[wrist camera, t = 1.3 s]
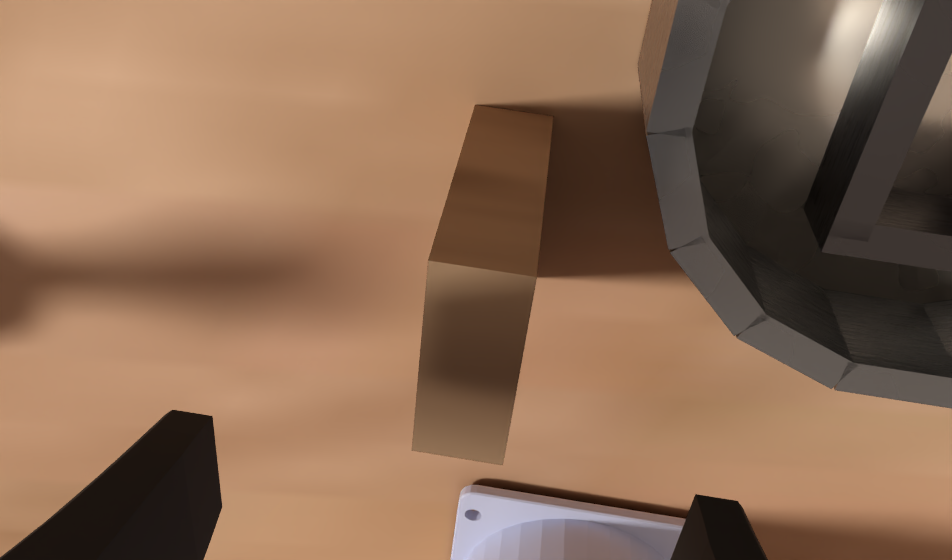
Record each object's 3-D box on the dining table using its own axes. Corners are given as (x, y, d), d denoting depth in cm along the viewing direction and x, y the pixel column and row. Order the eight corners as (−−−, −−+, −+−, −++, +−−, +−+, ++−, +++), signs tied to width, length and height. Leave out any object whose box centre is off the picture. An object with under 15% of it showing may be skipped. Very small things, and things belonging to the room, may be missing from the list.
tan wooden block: (526, 277, 22) (502, 465, 16) (457, 266, 22) (411, 450, 16) (553, 116, 19) (536, 276, 14) (475, 104, 19) (428, 260, 14)
